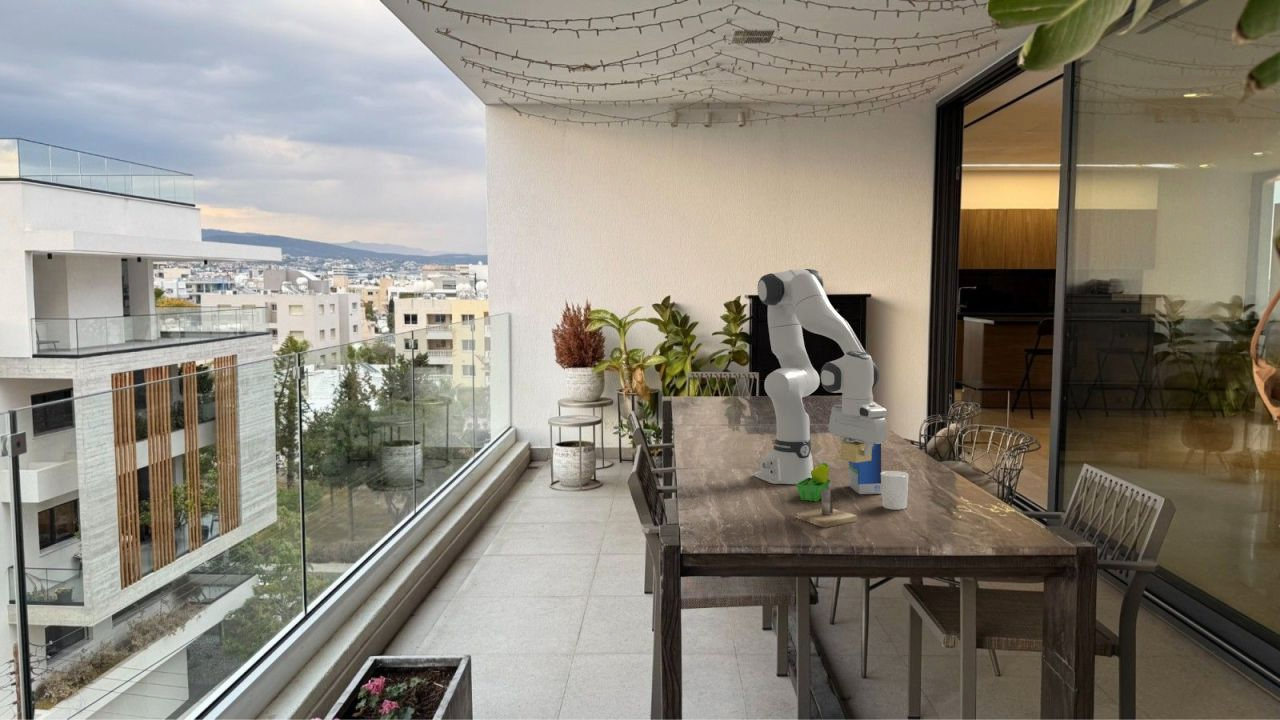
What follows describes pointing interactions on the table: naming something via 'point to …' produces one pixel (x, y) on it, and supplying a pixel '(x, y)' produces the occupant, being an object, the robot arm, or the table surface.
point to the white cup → (894, 489)
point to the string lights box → (866, 473)
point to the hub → (854, 451)
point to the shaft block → (826, 513)
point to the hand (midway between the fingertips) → (856, 453)
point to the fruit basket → (814, 483)
